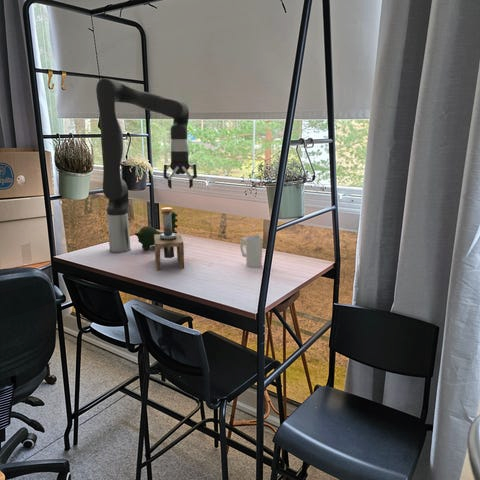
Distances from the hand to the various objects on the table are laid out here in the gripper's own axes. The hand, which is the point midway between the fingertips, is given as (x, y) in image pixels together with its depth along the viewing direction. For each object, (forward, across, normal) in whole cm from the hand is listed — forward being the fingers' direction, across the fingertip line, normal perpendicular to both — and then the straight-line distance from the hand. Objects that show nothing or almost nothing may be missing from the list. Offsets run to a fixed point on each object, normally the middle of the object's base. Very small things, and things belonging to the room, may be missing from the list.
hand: (180, 188), depth 186 cm
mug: (+30, +26, -22) cm, 45 cm away
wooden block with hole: (+30, -7, -13) cm, 33 cm away
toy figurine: (+30, -11, +15) cm, 35 cm away
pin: (+27, -7, -13) cm, 31 cm away
